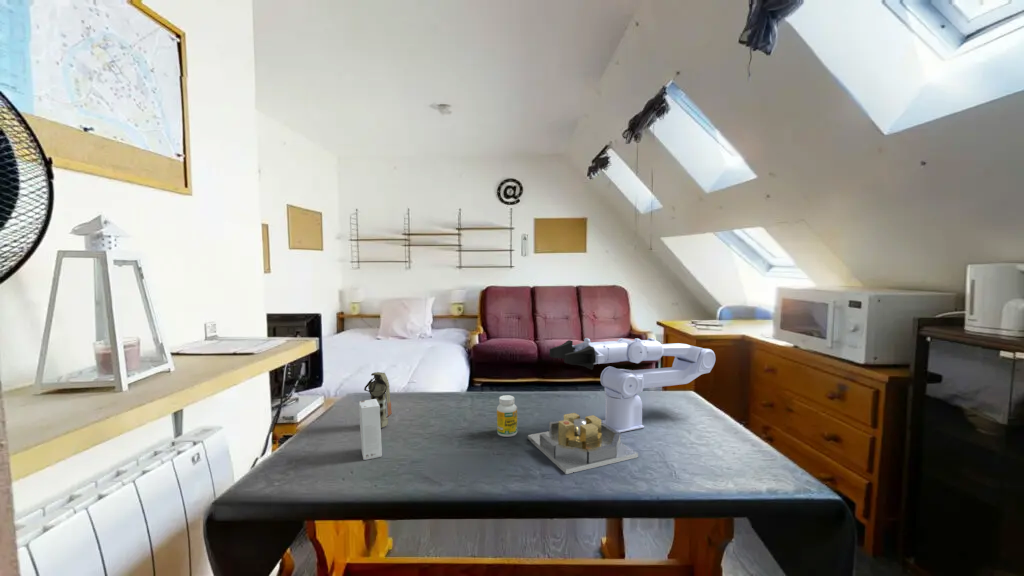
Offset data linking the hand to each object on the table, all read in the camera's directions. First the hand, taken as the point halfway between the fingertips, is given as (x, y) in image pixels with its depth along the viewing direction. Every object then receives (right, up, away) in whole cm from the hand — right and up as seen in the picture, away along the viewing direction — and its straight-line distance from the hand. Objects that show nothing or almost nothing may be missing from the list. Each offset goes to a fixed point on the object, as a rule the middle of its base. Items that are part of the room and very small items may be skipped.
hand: (557, 355), depth 100 cm
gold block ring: (+5, -20, -5) cm, 21 cm away
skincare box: (-45, -22, -7) cm, 51 cm away
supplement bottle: (-13, -21, +4) cm, 25 cm away
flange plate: (+5, -22, -5) cm, 23 cm away
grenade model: (-48, -21, +8) cm, 53 cm away
